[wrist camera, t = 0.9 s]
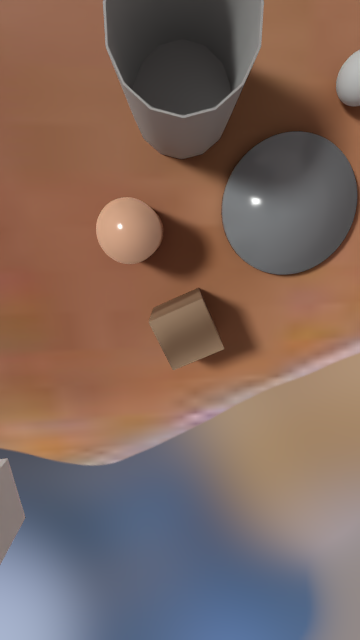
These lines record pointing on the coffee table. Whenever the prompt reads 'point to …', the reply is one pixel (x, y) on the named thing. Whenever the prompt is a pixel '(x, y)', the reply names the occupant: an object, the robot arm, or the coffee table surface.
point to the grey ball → (349, 81)
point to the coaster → (289, 203)
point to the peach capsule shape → (129, 230)
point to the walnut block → (185, 329)
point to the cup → (182, 65)
